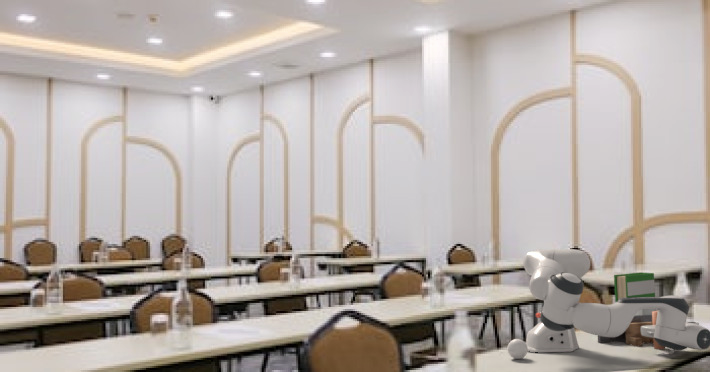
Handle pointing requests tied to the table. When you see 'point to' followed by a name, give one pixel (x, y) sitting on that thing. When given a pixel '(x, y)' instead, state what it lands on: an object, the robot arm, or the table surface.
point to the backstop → (623, 336)
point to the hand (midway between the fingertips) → (657, 327)
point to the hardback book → (634, 285)
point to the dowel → (654, 318)
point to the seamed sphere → (517, 349)
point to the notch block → (637, 334)
